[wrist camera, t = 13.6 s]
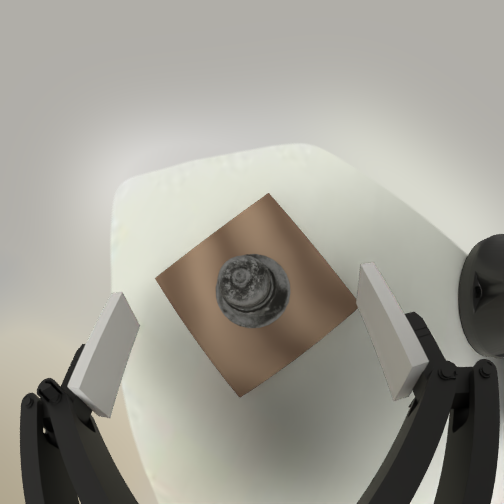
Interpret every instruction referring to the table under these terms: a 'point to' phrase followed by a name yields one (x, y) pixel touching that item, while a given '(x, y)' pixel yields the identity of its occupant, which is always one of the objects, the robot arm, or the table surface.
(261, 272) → the weathered metal finial
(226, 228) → the walnut board
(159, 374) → the table surface
